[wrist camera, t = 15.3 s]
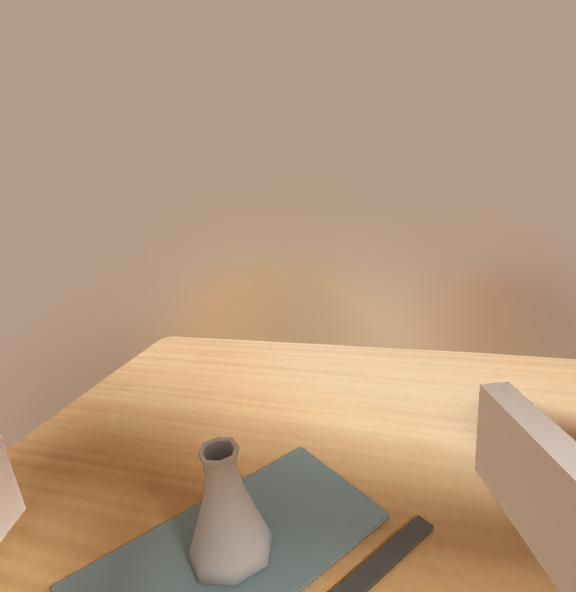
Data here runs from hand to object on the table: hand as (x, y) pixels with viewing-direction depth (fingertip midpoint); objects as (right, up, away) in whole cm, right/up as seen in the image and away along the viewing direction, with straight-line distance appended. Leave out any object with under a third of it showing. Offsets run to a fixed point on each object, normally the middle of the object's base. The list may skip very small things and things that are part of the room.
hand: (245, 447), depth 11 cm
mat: (-4, -18, +23) cm, 30 cm away
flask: (-4, -18, +23) cm, 29 cm away
